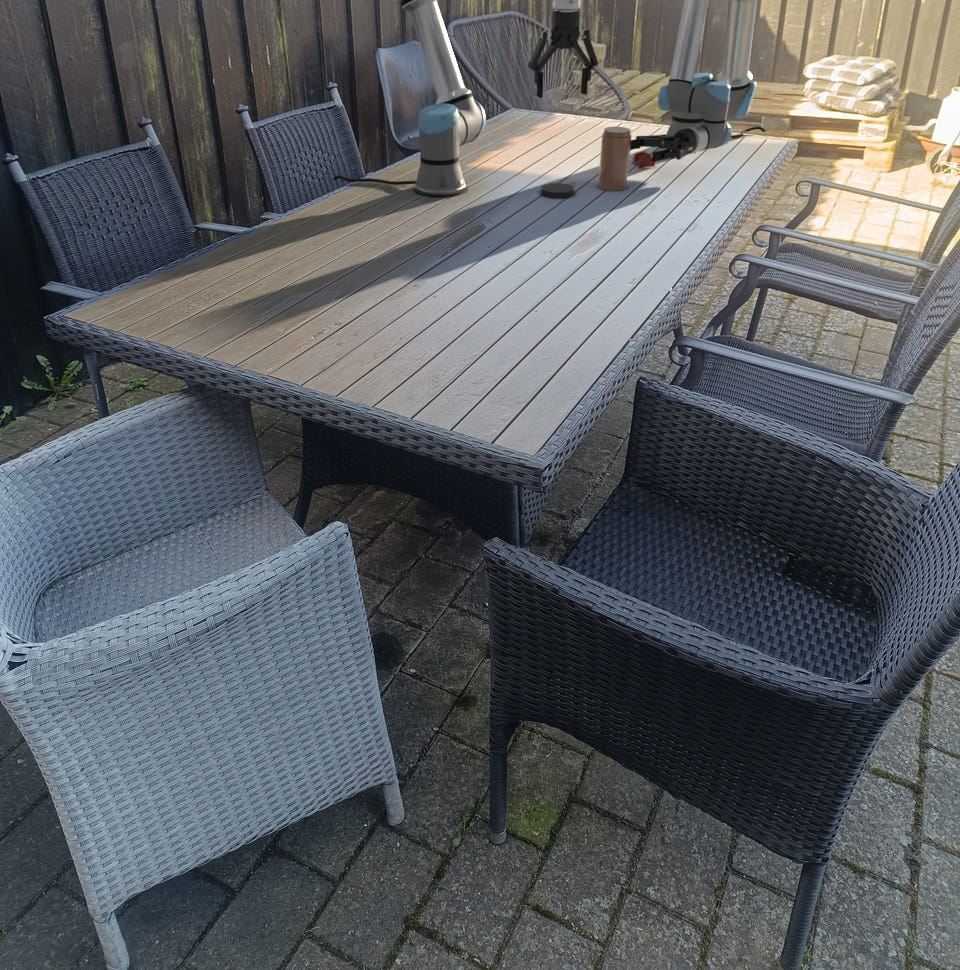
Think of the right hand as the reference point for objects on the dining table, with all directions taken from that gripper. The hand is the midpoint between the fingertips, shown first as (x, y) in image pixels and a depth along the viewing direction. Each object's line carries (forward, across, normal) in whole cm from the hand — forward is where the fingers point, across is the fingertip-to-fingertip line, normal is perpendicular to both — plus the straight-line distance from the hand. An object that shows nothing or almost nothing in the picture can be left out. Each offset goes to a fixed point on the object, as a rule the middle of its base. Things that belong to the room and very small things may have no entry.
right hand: (638, 151), depth 260 cm
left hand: (+27, +4, +19) cm, 33 cm away
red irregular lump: (-15, +13, -10) cm, 22 cm away
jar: (+9, 0, -9) cm, 13 cm away
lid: (+28, +3, -7) cm, 29 cm away
